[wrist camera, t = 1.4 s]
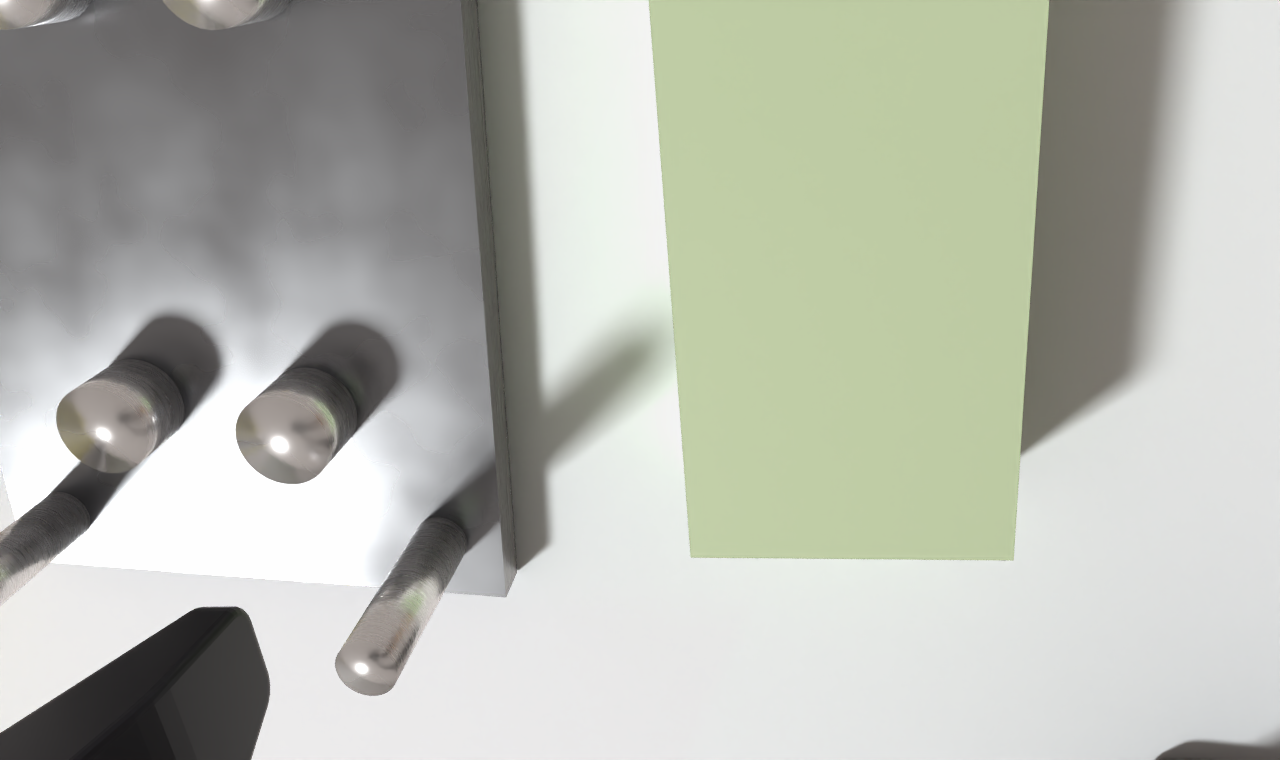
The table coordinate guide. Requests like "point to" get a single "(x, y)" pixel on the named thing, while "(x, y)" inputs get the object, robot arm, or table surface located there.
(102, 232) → the chassis
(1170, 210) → the table surface
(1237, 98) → the table surface
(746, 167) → the board
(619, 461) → the table surface
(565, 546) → the table surface
